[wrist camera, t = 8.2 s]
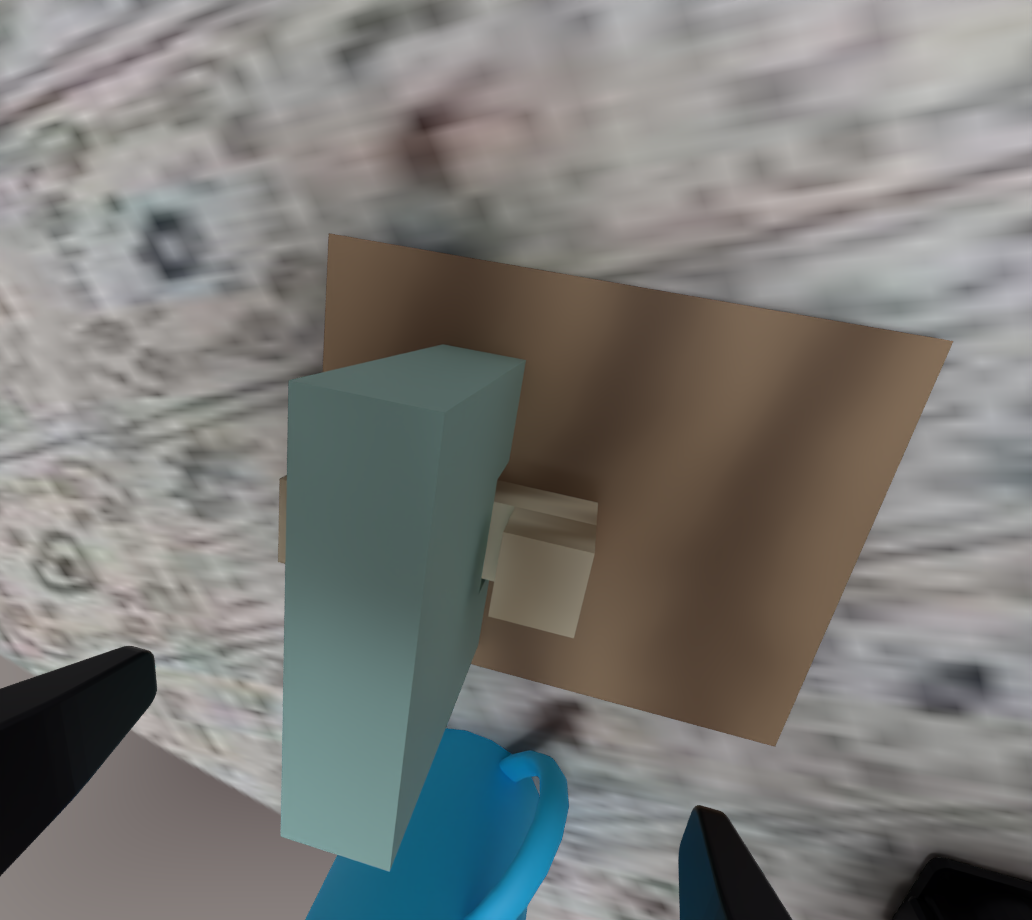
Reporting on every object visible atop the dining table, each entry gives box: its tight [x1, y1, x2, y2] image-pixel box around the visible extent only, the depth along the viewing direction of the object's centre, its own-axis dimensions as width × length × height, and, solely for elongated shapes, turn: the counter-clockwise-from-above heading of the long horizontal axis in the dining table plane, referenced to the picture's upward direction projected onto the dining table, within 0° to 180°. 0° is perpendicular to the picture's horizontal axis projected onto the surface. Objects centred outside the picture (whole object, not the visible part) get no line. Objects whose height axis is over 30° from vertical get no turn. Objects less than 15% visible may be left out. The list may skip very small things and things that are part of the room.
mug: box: [305, 728, 569, 920], centre depth 21 cm, size 12×8×8 cm
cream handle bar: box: [278, 475, 598, 638], centre depth 18 cm, size 10×3×4 cm, turn 80°
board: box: [323, 234, 953, 746], centre depth 19 cm, size 20×16×1 cm
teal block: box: [281, 344, 526, 872], centre depth 15 cm, size 3×12×9 cm, turn 170°
